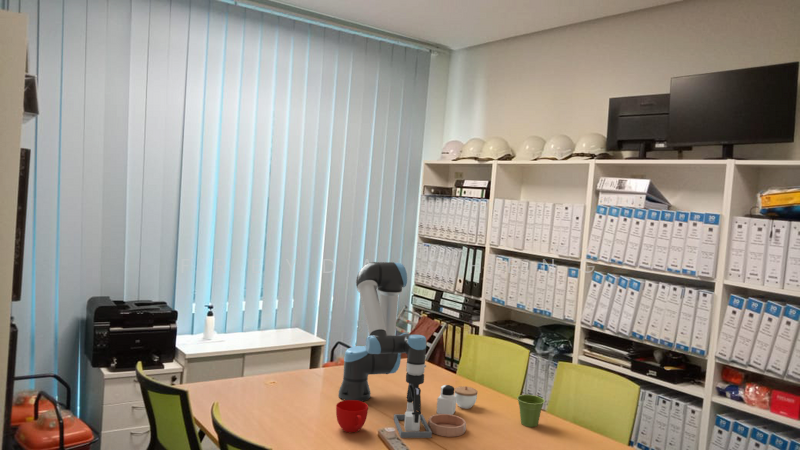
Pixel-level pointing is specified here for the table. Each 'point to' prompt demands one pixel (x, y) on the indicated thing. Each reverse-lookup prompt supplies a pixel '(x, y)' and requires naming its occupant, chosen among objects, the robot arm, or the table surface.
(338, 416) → the ceramic cup
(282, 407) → the table surface
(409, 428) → the white cube
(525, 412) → the plant pot
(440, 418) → the bowl
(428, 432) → the parts tray
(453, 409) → the medicine bottle
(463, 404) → the lidded jar
